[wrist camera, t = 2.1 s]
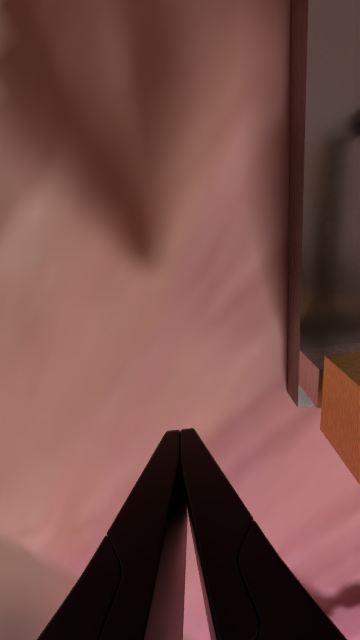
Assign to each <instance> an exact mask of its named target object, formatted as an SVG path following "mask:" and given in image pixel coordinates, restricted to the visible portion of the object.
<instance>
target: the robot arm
mask: <svg viewBox="0 0 360 640" xmlns="http://www.w3.org/2000/svg"><path fill="white" fill-rule="evenodd" d="M187 508H188V514H189V521H190V527H191V532H192V538H193V543H194V549H195V554H196V560H197V565H198V571H199V576H200V582H201V587H202V593H203V598H204V604H205V609H206V615H207V620H208V626H209V631H210V637H211V640H347V639H346V638H345V636H344V635H343V634H342V633H341V632H340V630H339V629H338V628H337V627H336V626H335V624H334V623H333V622H332V621H331V619H330V618H329V617H328V616H327V615H326V613H325V612H324V611H323V610H322V609H321V607H320V606H319V605H318V604H317V602H316V601H315V600H314V599H313V598H312V596H311V595H310V594H309V593H308V592H307V590H306V589H305V588H304V587H303V586H302V584H301V583H300V582H299V581H298V579H297V578H296V577H295V575H294V574H293V573H292V572H291V570H290V569H289V568H288V567H287V565H286V564H285V563H284V561H283V560H282V559H281V558H280V556H279V555H278V553H277V552H276V551H275V549H274V548H273V546H272V545H271V543H270V542H269V541H268V539H267V538H266V536H265V535H264V533H263V532H262V530H261V529H260V527H259V526H258V524H257V523H256V521H254V520H253V517H252V516H251V514H250V513H249V511H248V510H247V508H246V506H245V505H244V503H243V502H242V500H241V499H240V497H239V496H238V494H237V493H236V491H235V490H234V488H233V487H232V485H231V484H230V482H229V481H228V479H227V478H226V476H225V475H224V473H223V472H222V470H221V469H220V467H219V466H218V464H217V463H216V461H215V460H214V458H213V457H212V455H211V454H210V452H209V450H208V449H207V447H206V446H205V444H204V443H203V441H202V440H201V438H200V437H199V435H198V434H197V432H196V431H195V430H194V429H193V428H190V429H182V430H181V431H179V430H172V431H167V432H166V433H165V435H164V436H163V438H162V440H161V441H160V443H159V445H158V446H157V448H156V450H155V452H154V453H153V455H152V457H151V458H150V460H149V462H148V464H147V465H146V467H145V469H144V470H143V472H142V474H141V476H140V477H139V479H138V481H137V482H136V484H135V486H134V488H133V489H132V491H131V493H130V494H129V496H128V498H127V500H126V501H125V503H124V505H123V506H122V508H121V510H120V511H119V513H118V515H117V517H116V518H115V520H114V522H113V523H112V525H111V527H110V529H109V530H108V532H107V536H105V537H104V539H103V540H102V542H101V544H100V545H99V547H98V549H97V551H96V552H95V554H94V556H93V557H92V559H91V560H90V562H89V564H88V565H87V567H86V569H85V570H84V572H83V573H82V575H81V577H80V578H79V580H78V581H77V583H76V584H75V586H74V587H73V588H72V590H71V591H70V593H69V595H68V596H67V597H66V599H65V600H64V602H63V603H62V605H61V606H60V607H59V609H58V610H57V612H56V613H55V615H54V616H53V617H52V619H51V620H50V622H49V623H48V624H47V626H46V627H45V629H44V630H43V631H42V633H41V634H40V636H39V637H38V639H37V640H183V619H184V594H185V569H186V544H187Z"/></svg>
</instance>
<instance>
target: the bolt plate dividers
mask: <svg viewBox="0 0 360 640" xmlns="http://www.w3.org/2000/svg"><path fill="white" fill-rule="evenodd" d="M351 352H360V0H291V86H290V183H289V280H288V377H287V392H288V394H289V395H290V397H291V398H292V400H293V401H294V403H295V404H296V406H297V407H298V408H300V407H309V406H316V407H317V408H321V407H322V390H323V374H324V357H325V355H334V354H343V353H351Z"/></svg>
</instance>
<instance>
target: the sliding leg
mask: <svg viewBox="0 0 360 640" xmlns="http://www.w3.org/2000/svg"><path fill="white" fill-rule="evenodd" d="M320 429H321V431H322V432H323V434H324V435H325V437H326V438H327V439H328V441H329V442H330V444H331V445H332V446H333V448H334V449H335V451H336V452H337V453H338V455H339V456H340V458H341V459H342V460H343V462H344V463H345V465H346V466H347V468H348V469H349V470H350V472H351V473H352V475H353V476H354V477H355V479H356V480H357V482H358V483H359V484H360V352H351V353H343V354H334V355H325V357H324V374H323V390H322V407H321V424H320Z"/></svg>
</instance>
